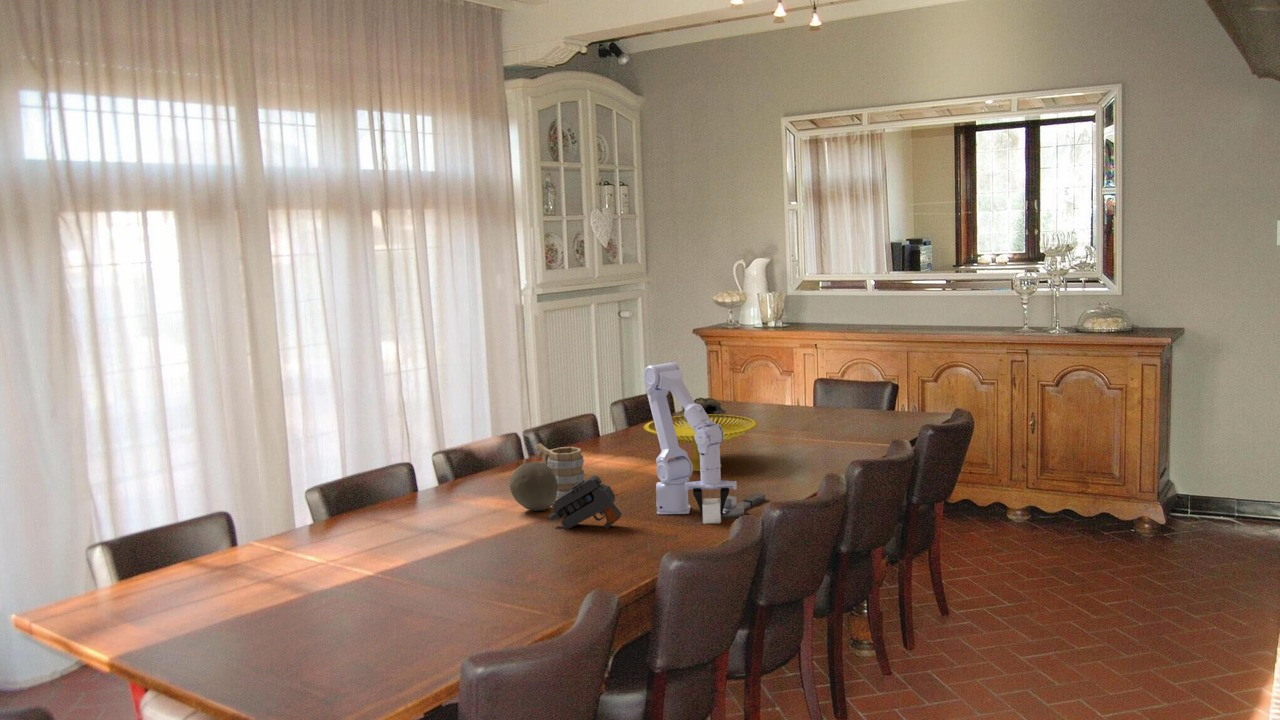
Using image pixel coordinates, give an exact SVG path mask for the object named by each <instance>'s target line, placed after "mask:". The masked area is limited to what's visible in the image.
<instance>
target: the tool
mask: <svg viewBox="0 0 1280 720" xmlns="http://www.w3.org/2000/svg"><path fill="white" fill-rule="evenodd" d="M615 501H616V495H615V493H614V491H613V490H612V488H611V486H610V485H607V484H603V483H602V480H601V478H600V477H599V476H598V475H595V474H593V475H592V476H591V477H588V478H587V479H584V480H583V481H581V482H580V483H578V484H576V485H575V486H574V487H573V488H572V489H571V490H570V491H568V492H566V493H565V494H563V495H562V496H560V497H559V498H558V497H557V498H556V500H555V502H554V503H553V504H552V505H551V508H552V511H553V513H551V514H549V515H548V518H549V520H550V521H552V522H553V521H555V520H557V519H558V520H560V519H562V517H563V516H564V515H565V516H564V517H563V519H562V520H561V522H560V524H561V525H562V527H563V528H564V529H566V530H569V529H571V528H572V527H575V526H577V525H578V524H580V523H581V522H584V521H586V520H587V519H589V518H591V517H593V518H594V519H595V520H596V521H598V522H599V521H602V520H603V519H604V518H605V519H606V522H605V523H604V524H603V526H604V527H605V528H606V529H609V528H610V527H611V526H613V524H615V523H616V522H617V521H619V520H620V519H621V517H622V515H623V514H622V512H621V511H620V510H619V508H618V507H617V506H616V504H614V502H615ZM596 514H600V515H601V516H602V517H600V518H599V517H598V516H597V515H596Z"/></svg>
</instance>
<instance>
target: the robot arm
mask: <svg viewBox="0 0 1280 720" xmlns="http://www.w3.org/2000/svg"><path fill="white" fill-rule="evenodd" d="M644 369H645V370H644V372H643V374H642V379H643V383H644V386H645V391H646V394H647V398H648V403H649V406H650V410H651V416H652V419H653V421H654V423H655V424H654V423H653V424H654V425H655V426H654V427H655V428H656V430H655V431H657V435H658V436H657V438H658V442H659V447H660V453H659V455H658V456H657V457H656V459H655V463H656V475H657V478H658V479H659V480H660V481H658V482H656V488H655V495H656V498H655V499H656V503H655V505H656V514H657V515H689V514H690V512H691V511H690V510H691V507H692V506H691V505H690V504H689V491H690V490H691V491H692V495H693V497H694V499H695V500H696V503H697V505H698V508H699V513H700V515H701V516H703V509H702V502H703V490H720V491H719V493H720V497H719V498H721V510H720V512H721V515H723V509H724V505H725V502H726V499H727V496H729V494H730V490H737V487H738V485H737V483H738V482H737V481H736V480H734V481H730V480H721V479H722V478H721V477H722V476H721V473H722V472H721V468H720V464H721V449H720V448H721V447H720V446H721V443H723V442H724V441H723V438H724V433H723V430H722V428H721V426H720V424H719V425H718V424H716V423H714V422H713V421H711V420H710V418H709V417H708V415H707V414H706V412H705V410H704V408H703V407H702V406H701V405H700V404H696V403H695V402H694V399H693V397H692V395H691V394H690V392H689V390H688V388H687V386H686V384H685V382H684V381H683V371H682V370H681V368H680V366H679V364H678V363H677V362H676V361H675V362H674V361H670V362H667V363H661V364H653V365H652V364H650V365H647V366H646V367H645V368H644ZM669 392H671V394H672V395H673V396H674V397H675V398H676V400H677V401H678V403H679V405H681V407H682V406H683V408H684V409H685V412H684V416H685V418H686V419H687V421H688V422H689V424H690V426H691V427H692V429H693V430H694V432H695V433H696V435H695V436H694V437H695V441H696V443H697V446H698V451H699V452H700V471H699V473H700V480H698V481H697V480H696V481H690V477H691V476H692V475H693V472H694V471H693V466H692V463H691V460H690V458H689V455H688V452H687V451H686V450H684V449H683V448H682V447H680V446H679V442H678V441H677V437H676V433H675V429H674V428H675V427H674V425H675V424H674V421H673V420H672V417H673V416H672V414H671V410H670V406H669V402H668V398H667V395H668V394H669ZM673 424H674V425H673Z"/></svg>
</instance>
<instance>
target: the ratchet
mask: <svg viewBox="0 0 1280 720" xmlns="http://www.w3.org/2000/svg"><path fill="white" fill-rule="evenodd" d="M765 501H766V494H764V493H763V494H762V493H757V492H756V493H754V494H751V495H749V496H747V497H745V498H744V499H742V501H739V502H737V496H732V495H728V496H727V499H726V502H725V505H724V509H723V515H721V519H723V518H724V519H735V518H740V516H741V517H743V516H744V515H745V510H747V509H749V508H751V507H755V506H757V505H758V504H760V503H762V502H765ZM742 515H743V516H742Z"/></svg>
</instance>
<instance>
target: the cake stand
mask: <svg viewBox="0 0 1280 720" xmlns="http://www.w3.org/2000/svg"><path fill="white" fill-rule="evenodd" d="M709 415H711V417H710V420H711V421H712V420H713V417H714V415H715V414H714V415H712V414H708V417H709ZM720 415H721V414H720ZM671 417H672V421H673V425H674V429H675V433H676V437H677V441H678V443H686V444H687V443H689V444H691V445H693V453H694V454H693V455H694V458H693V459H691V460H690V461H691V463H692V466H693V472H700V452H699V451H698V446H697V443H696V441H695V437H694V436H695V435H696V433H695V432H694V430H693V429H692V427H691V426H690V424H689V422H688V421H687V422H688V424H689V427H688V426H687V424H686V422H685V420H684V417H683V416H681V415H677V416H676V415H675V416H671ZM718 417H719V415H716V416H715V420H714V423H716V421H717V419H718ZM680 418H681V419H682V421H683V423H684V425H685V427H684V426H683V424H682V423H681V421H680ZM686 420H687V419H686ZM721 420H722V421H721ZM679 423H680V425H681V426H682V427H681V426H679ZM717 424H718V425H720V426H721V428H722V430H723V433H724V438H723V441H722V442H724V441H728V440H733V439H736V438H738V437H740V436H742V435H744V434H745V433H747V432H749V431H751V430H753V429H755V428H756V427H758V421H757V420H755V419H753V418H750V417H745V416H740V415H733V414H732V415H731V414H726V415H721V416H720V419H719V421H718V423H717ZM643 430H644V431H645V432H648V433H650V434H652V435H654V436H657V437H658V435H657V431H656V427H655V423H654V420H652V421H651V420H650V421H649V422H647V423H646V424H644V425H643ZM722 466H723V465H722V464H721V463H720V469H721V468H722Z"/></svg>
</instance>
